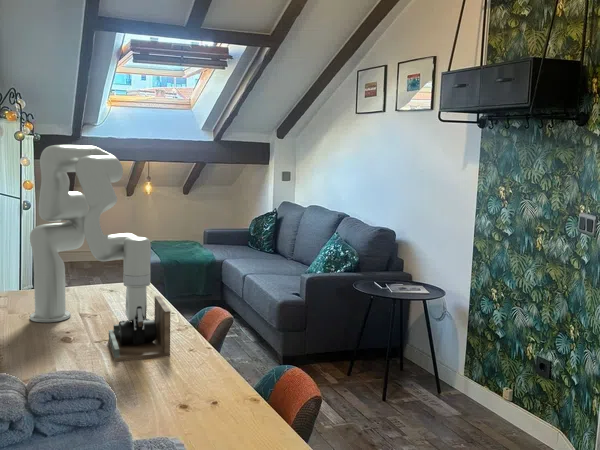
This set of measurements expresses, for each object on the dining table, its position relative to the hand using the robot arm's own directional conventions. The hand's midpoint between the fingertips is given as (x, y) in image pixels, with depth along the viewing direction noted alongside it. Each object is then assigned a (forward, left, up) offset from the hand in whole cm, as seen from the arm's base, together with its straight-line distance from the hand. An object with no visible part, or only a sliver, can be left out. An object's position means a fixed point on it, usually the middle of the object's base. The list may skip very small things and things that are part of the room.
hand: (136, 338), depth 179 cm
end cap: (0, 0, -2) cm, 2 cm away
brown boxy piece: (+2, 0, -3) cm, 3 cm away
